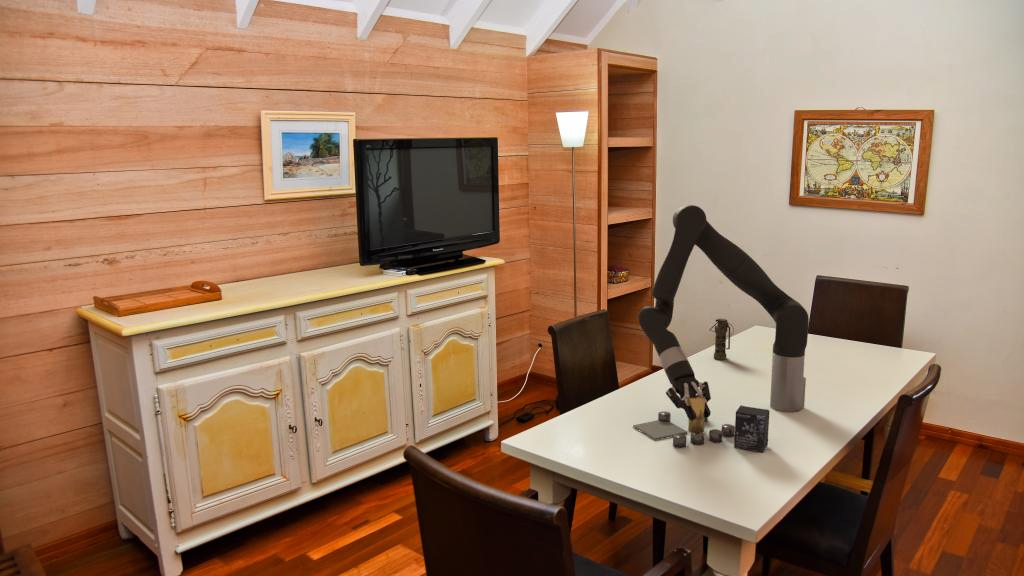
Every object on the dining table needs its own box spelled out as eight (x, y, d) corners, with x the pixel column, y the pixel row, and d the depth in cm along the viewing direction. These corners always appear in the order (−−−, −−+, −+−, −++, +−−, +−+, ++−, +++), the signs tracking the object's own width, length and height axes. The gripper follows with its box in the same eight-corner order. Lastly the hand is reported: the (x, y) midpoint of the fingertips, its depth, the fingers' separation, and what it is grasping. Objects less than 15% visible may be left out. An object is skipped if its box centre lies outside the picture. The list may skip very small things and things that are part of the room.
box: (733, 448, 210) (735, 411, 208) (738, 440, 215) (740, 404, 213) (763, 453, 207) (765, 416, 204) (768, 446, 211) (769, 409, 209)
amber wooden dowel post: (697, 426, 226) (698, 394, 224) (707, 431, 222) (708, 398, 220) (685, 429, 224) (685, 396, 222) (694, 434, 220) (695, 401, 218)
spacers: (694, 412, 237) (694, 404, 236) (742, 437, 217) (742, 429, 217) (637, 424, 229) (637, 416, 228) (681, 451, 209) (681, 442, 209)
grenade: (707, 359, 290) (708, 320, 287) (714, 355, 295) (715, 317, 292) (729, 363, 285) (730, 323, 282) (736, 359, 289) (737, 320, 286)
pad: (664, 420, 231) (664, 418, 231) (687, 433, 221) (687, 431, 221) (633, 427, 227) (633, 425, 226) (654, 440, 217) (654, 438, 217)
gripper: (661, 362, 223) (686, 416, 214) (702, 356, 228) (727, 408, 220) (650, 375, 229) (674, 428, 220) (690, 368, 234) (715, 419, 226)
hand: (700, 417), depth 220 cm, fingers closed on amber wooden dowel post, 4 cm apart
